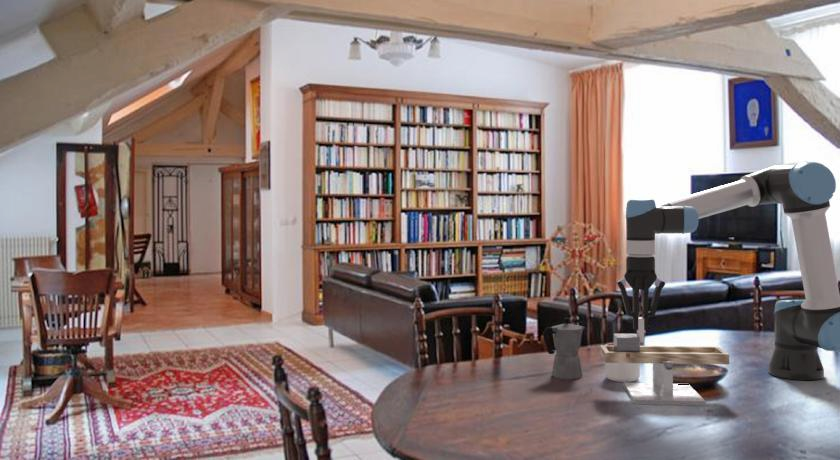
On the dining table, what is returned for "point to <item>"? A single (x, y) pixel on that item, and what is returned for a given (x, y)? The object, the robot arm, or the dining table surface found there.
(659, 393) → the stand
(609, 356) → the beam
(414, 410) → the dining table surface
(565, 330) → the coffeepot
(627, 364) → the cup
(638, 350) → the block
